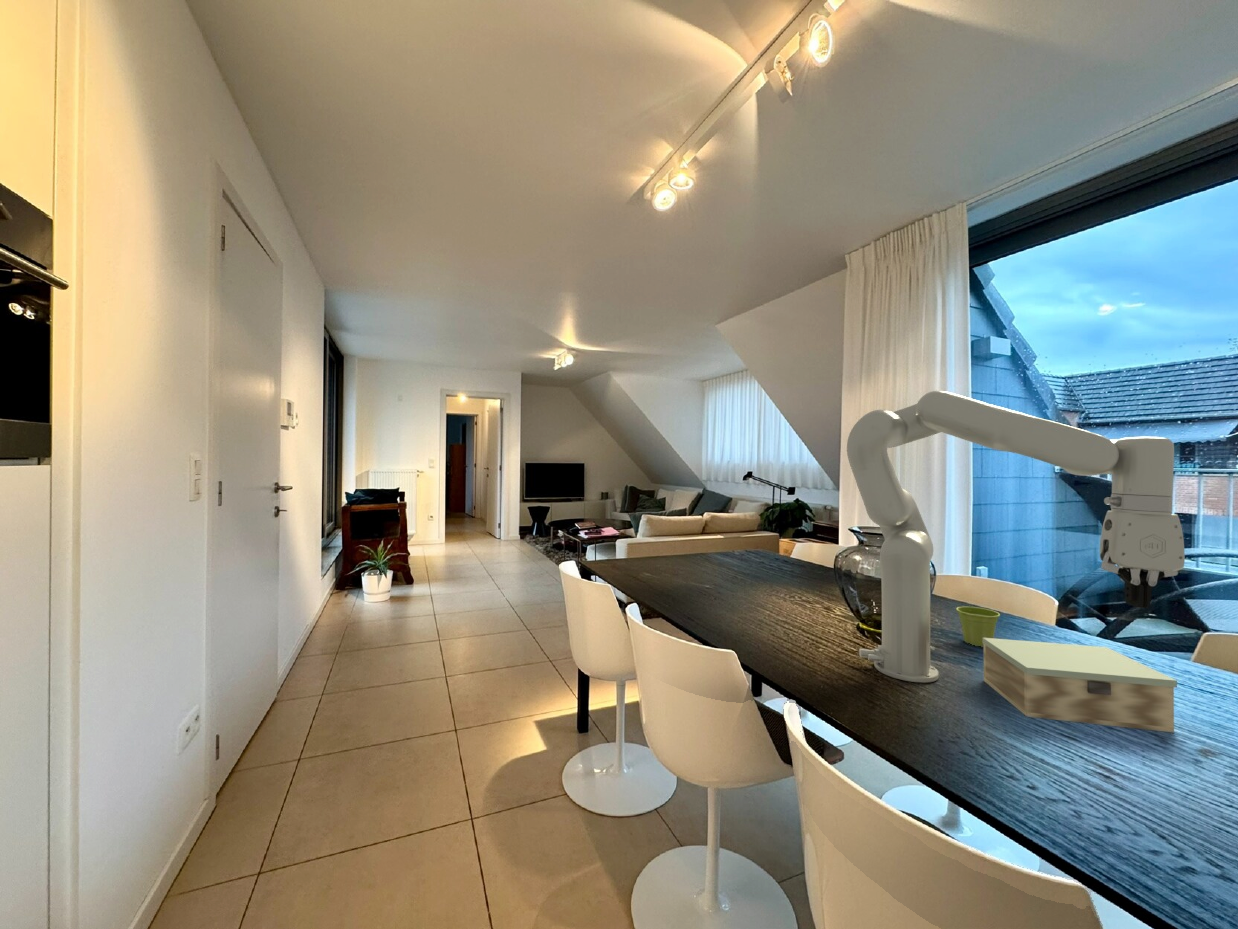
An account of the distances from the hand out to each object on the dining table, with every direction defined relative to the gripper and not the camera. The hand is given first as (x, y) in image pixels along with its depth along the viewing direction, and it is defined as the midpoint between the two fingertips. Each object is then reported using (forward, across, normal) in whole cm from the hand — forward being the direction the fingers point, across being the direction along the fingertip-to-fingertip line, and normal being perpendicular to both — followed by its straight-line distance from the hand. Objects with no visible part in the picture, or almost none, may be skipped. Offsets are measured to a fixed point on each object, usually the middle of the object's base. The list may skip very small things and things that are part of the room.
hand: (1137, 605), depth 88 cm
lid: (+13, -7, +5) cm, 16 cm away
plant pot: (+22, -8, +40) cm, 46 cm away
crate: (+22, -7, +6) cm, 23 cm away
